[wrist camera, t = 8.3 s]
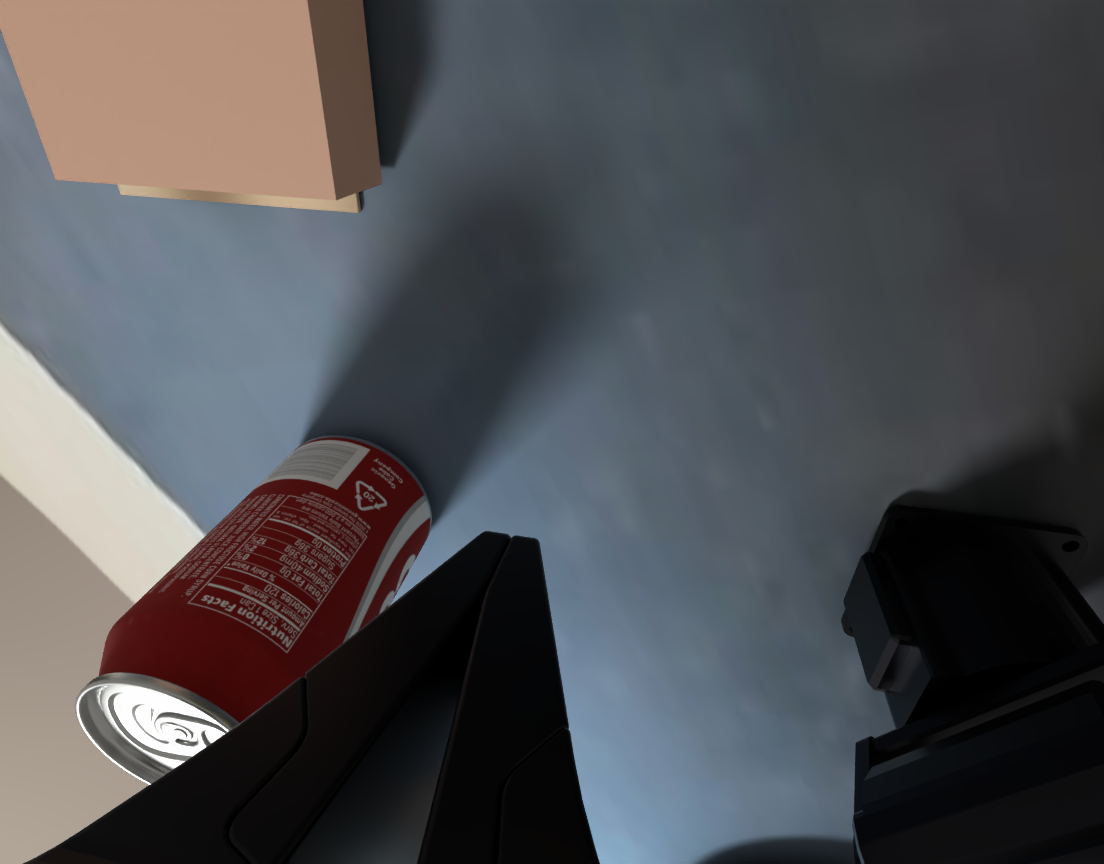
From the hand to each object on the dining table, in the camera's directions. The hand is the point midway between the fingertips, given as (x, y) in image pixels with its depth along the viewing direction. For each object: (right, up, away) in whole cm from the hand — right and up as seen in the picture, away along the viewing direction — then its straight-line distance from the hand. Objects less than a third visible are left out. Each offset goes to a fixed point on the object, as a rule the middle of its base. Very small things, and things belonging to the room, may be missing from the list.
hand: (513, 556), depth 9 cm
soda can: (-8, -1, +18) cm, 19 cm away
